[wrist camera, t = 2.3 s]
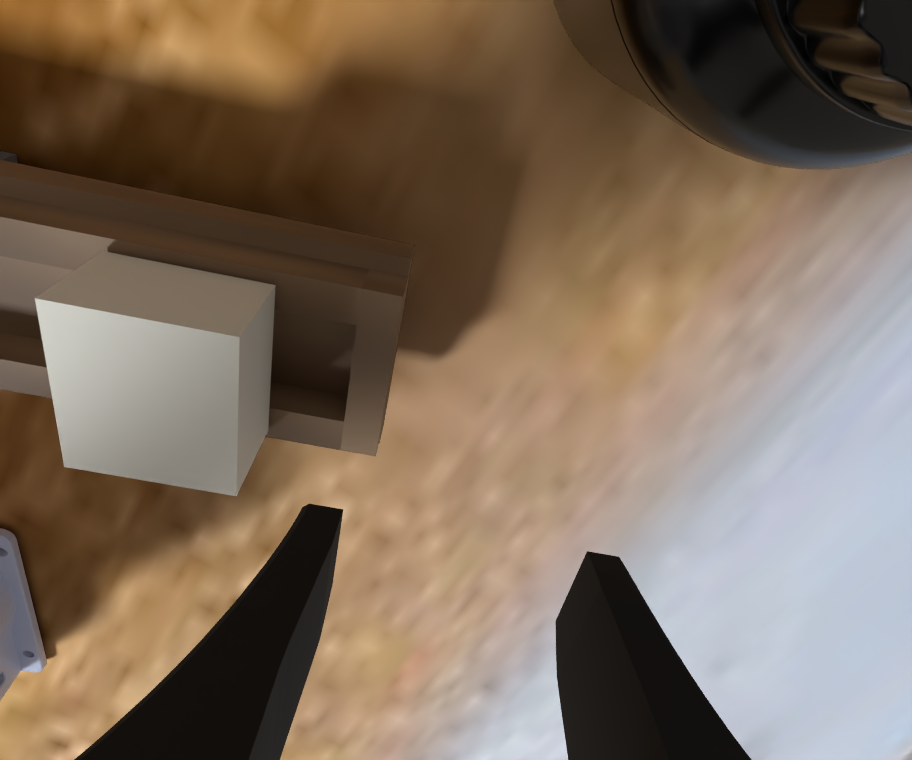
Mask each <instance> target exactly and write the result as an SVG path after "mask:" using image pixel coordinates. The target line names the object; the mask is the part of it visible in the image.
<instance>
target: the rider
mask: <svg viewBox="0 0 912 760" xmlns="http://www.w3.org/2000/svg"><path fill="white" fill-rule="evenodd" d="M275 287H276V285H272V284H267V283H262V282H257V281H252V280H247V279H242V278H237V277H232V276H227V275H222V274H217V273H211V272H206V271H201V270H196V269H191V268H186V267H181V266H176V265H171V264H166V263H161V262H156V261H151V260H146V259H141V258H135V257H130V256H125V255H120V254H115V253H110V252H105V251H102V252H100V253H99V254H98V255H96V256H95V257H93V258H92V259H90V260H89V261H88V262H86V263H85V264H83V265H82V266H80V267H79V268H78V269H76V270H75V271H73V272H72V273H70V274H69V275H67V276H66V277H65V278H63V279H62V280H60V281H59V282H57V283H56V284H55V285H53V286H52V287H50V288H49V289H47V290H46V291H44V292H43V293H42V294H40V295H39V296H37V297H36V298H35V302H36V308H37V314H38V320H39V325H40V331H41V337H42V343H43V348H44V354H45V360H46V365H47V371H48V377H49V383H50V388H51V394H52V400H53V405H54V411H55V417H56V423H57V428H58V434H59V440H60V446H61V451H62V457H63V463H64V467H67V468H73V469H79V470H85V471H91V472H97V473H103V474H108V475H114V476H120V477H126V478H132V479H138V480H144V481H149V482H155V483H161V484H167V485H173V486H179V487H184V488H190V489H196V490H202V491H208V492H214V493H220V494H225V495H231V496H237V495H238V492H239V490H240V488H241V486H242V484H243V482H244V480H245V478H246V476H247V474H248V472H249V470H250V468H251V465H252V463H253V461H254V459H255V457H256V455H257V453H258V451H259V449H260V447H261V445H262V443H263V441H264V438H265V436H266V434H267V432H268V424H269V404H270V385H271V365H272V345H273V326H274V306H275Z"/></svg>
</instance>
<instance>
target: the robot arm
mask: <svg viewBox="0 0 912 760" xmlns="http://www.w3.org/2000/svg"><path fill="white" fill-rule="evenodd" d="M342 514H343V509H337V508H331V507H325V506H319V505H314V504H308V505H306V506H304V507H302V509H301V511H300V513H299V515H298V517H297V518H296V520H295V522H294V523H293V525H292V526H291V528H290V530H289V531H288V533H287V534H286V536H285V537H284V539H283V540H282V542H281V543H280V545H279V546H278V547H277V549H276V550H275V552H274V553H273V554H272V556H271V557H270V558H269V560H268V561H267V563H266V564H265V565H264V566H263V568H262V569H261V570H260V572H259V573H258V574H257V575H256V577H255V578H254V579H253V580H252V582H251V583H250V584H249V585H248V587H247V588H246V589H245V591H244V592H243V593H242V594H241V596H240V597H239V598H238V599H237V600H236V602H235V603H234V604H233V605H232V606H231V607H230V609H229V610H228V611H227V612H226V613H225V614H224V615H223V616H222V618H221V619H220V620H219V621H218V622H217V623H216V624H215V625H214V627H213V628H212V629H211V630H210V631H209V632H208V633H207V635H206V636H205V637H204V638H203V639H202V640H201V641H200V642H199V643H198V644H197V645H196V647H195V648H194V649H193V650H192V651H191V652H190V653H189V654H188V655H187V656H186V657H185V658H184V659H183V660H182V661H181V662H180V663H179V664H178V665H177V666H176V667H175V668H174V669H173V670H172V671H171V672H170V673H169V674H168V675H167V676H166V677H165V678H164V679H163V680H162V681H161V682H160V683H159V684H158V685H157V686H156V687H155V688H154V689H153V690H152V691H151V692H150V693H149V694H148V695H147V696H146V697H145V698H143V699H142V700H141V701H140V702H139V703H138V704H137V705H136V706H135V707H134V708H133V709H131V710H130V711H129V712H128V713H127V714H126V715H125V716H124V717H123V718H122V719H121V720H119V721H118V722H117V723H116V724H115V725H114V726H113V727H112V728H111V729H110V730H108V731H107V732H106V733H105V734H104V735H103V736H102V737H100V738H99V739H98V740H97V741H96V742H95V743H94V744H92V745H91V746H90V747H89V748H88V749H87V750H85V751H84V752H83V753H82V754H81V755H80V756H78V757H77V758H76V759H75V760H280V757H281V754H282V751H283V748H284V745H285V742H286V739H287V736H288V733H289V730H290V727H291V724H292V721H293V718H294V715H295V712H296V709H297V706H298V703H299V700H300V697H301V694H302V691H303V688H304V685H305V682H306V679H307V676H308V673H309V670H310V667H311V664H312V661H313V658H314V655H315V652H316V649H317V646H318V643H319V640H320V636H321V632H322V627H323V623H324V619H325V615H326V610H327V606H328V601H329V597H330V593H331V588H332V584H333V577H334V570H335V563H336V556H337V549H338V542H339V535H340V528H341V521H342ZM556 660H557V680H558V688H559V696H560V703H561V710H562V718H563V725H564V732H565V739H566V746H567V753H568V760H751V758H750V757H749V756H748V755H747V753H746V752H745V751H744V750H743V748H742V747H741V746H740V744H739V743H738V742H737V740H736V739H735V738H734V736H733V735H732V734H731V732H730V731H729V730H728V728H727V727H726V725H725V724H724V723H723V721H722V720H721V718H720V717H719V715H718V714H717V713H716V711H715V710H714V708H713V707H712V705H711V704H710V703H709V701H708V700H707V698H706V697H705V695H704V694H703V692H702V691H701V689H700V688H699V686H698V685H697V683H696V682H695V680H694V679H693V677H692V676H691V674H690V673H689V671H688V670H687V668H686V666H685V665H684V663H683V662H682V660H681V659H680V657H679V656H678V654H677V652H676V651H675V649H674V648H673V646H672V645H671V643H670V641H669V640H668V638H667V636H666V635H665V633H664V632H663V630H662V628H661V627H660V625H659V623H658V622H657V620H656V618H655V617H654V615H653V613H652V612H651V610H650V608H649V607H648V605H647V603H646V602H645V600H644V598H643V596H642V595H641V593H640V591H639V590H638V588H637V586H636V584H635V583H634V581H633V579H632V578H631V576H630V574H629V572H628V571H627V569H626V567H625V566H624V564H623V562H622V561H621V559H620V558H619V557H616V556H611V555H605V554H599V553H593V552H587V553H586V555H585V558H584V560H583V562H582V564H581V566H580V569H579V571H578V573H577V575H576V577H575V580H574V582H573V584H572V586H571V589H570V591H569V593H568V595H567V597H566V600H565V602H564V604H563V606H562V608H561V611H560V613H559V615H558V617H557V619H556ZM46 664H47V660H46V656H45V652H44V648H43V643H42V639H41V635H40V631H39V627H38V623H37V619H36V615H35V611H34V607H33V603H32V599H31V595H30V591H29V587H28V583H27V579H26V575H25V571H24V567H23V563H22V559H21V555H20V551H19V547H18V543H17V539H16V537H15V535H14V534H13V533H12V532H10V531H8V530H6V529H2V528H0V700H1V699H2V697H3V696H4V694H5V693H6V692H7V690H8V689H9V687H10V686H11V684H12V683H13V681H14V680H15V678H16V677H17V675H18V674H19V672H20V671H21V670H22V671H29V672H40V671H42V670H43V669H44V667H45V666H46Z"/></svg>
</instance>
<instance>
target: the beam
mask: <svg viewBox="0 0 912 760" xmlns="http://www.w3.org/2000/svg"><path fill="white" fill-rule="evenodd" d="M414 247H415V245H412V244H407V243H402V242H397V241H392V240H388V239H383V238H378V237H373V236H368V235H363V234H358V233H354V232H349V231H344V230H339V229H334V228H329V227H324V226H320V225H315V224H310V223H305V222H300V221H295V220H290V219H286V218H281V217H276V216H271V215H266V214H261V213H256V212H252V211H247V210H242V209H237V208H232V207H227V206H222V205H218V204H213V203H208V202H203V201H198V200H193V199H188V198H184V197H179V196H174V195H169V194H164V193H159V192H154V191H150V190H145V189H140V188H135V187H130V186H125V185H120V184H116V183H111V182H106V181H101V180H96V179H91V178H86V177H82V176H77V175H72V174H67V173H62V172H57V171H52V170H47V169H43V168H38V167H33V166H28V165H23V164H18V160H17V154H13V153H8V152H3V151H0V389H2V390H7V391H13V392H18V393H24V394H30V395H35V396H41V397H46V398H52V394H51V388H50V383H49V377H48V371H47V365H46V360H45V354H44V348H43V343H42V337H41V331H40V325H39V320H38V314H37V308H36V302H35V298H36V297H37V296H39V295H40V294H42V293H43V292H44V291H46V290H47V289H49V288H50V287H52V286H53V285H55V284H56V283H57V282H59V281H60V280H62V279H63V278H65V277H66V276H67V275H69V274H70V273H72V272H73V271H75V270H76V269H78V268H79V267H80V266H82V265H83V264H85V263H86V262H88V261H89V260H90V259H92V258H93V257H95V256H96V255H98V254H99V253H100V252H102V251H105V252H110V253H115V254H120V255H125V256H130V257H135V258H141V259H146V260H151V261H156V262H161V263H166V264H171V265H176V266H181V267H186V268H191V269H196V270H201V271H206V272H211V273H217V274H222V275H227V276H232V277H237V278H242V279H247V280H252V281H257V282H262V283H267V284H272V285H276V287H275V306H274V326H273V345H272V365H271V385H270V404H269V424H268V432H267V434H266V436H265V437H270V438H276V439H281V440H287V441H292V442H298V443H304V444H309V445H315V446H320V447H326V448H332V449H337V450H343V451H348V452H354V453H360V454H365V455H371V456H376V453H377V449H378V444H379V443H380V438H381V434H382V430H383V425H384V420H385V414H386V408H387V402H388V397H389V391H390V385H391V379H392V374H393V368H394V362H395V356H396V351H397V345H398V339H399V333H400V328H401V322H402V316H403V310H404V305H405V299H406V293H407V287H408V282H409V276H410V270H411V264H412V259H413V253H414Z"/></svg>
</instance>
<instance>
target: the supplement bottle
mask: <svg viewBox="0 0 912 760" xmlns="http://www.w3.org/2000/svg"><path fill="white" fill-rule="evenodd" d="M554 4H555V7H556V10H557V12H558V15H559V18H560V20H561V22H562V24H563V26H564V28H565V30H566V32H567V34H568V36H569V38H570V39H571V41H572V42H573V44H574V45H575V47H576V48H577V50H578V51H579V52H580V53H581V55H582V56H583V57H584V58H585V59H586V60H587V61H588V62H589V63H590V64H591V65H592V66H593V67H594V68H595V69H596V70H597V71H598V72H600V73H601V74H602V75H603V76H605V77H606V78H607V79H609V80H610V81H611V82H613V83H614V84H616V85H618V86H619V87H621V88H622V89H624V90H625V91H627V92H629V93H630V94H632V95H633V96H635V97H637V98H638V99H640V100H641V101H643V102H645V103H646V104H648V105H649V106H651V107H653V108H654V109H656V110H657V111H659V112H661V113H662V114H664V115H665V116H667V117H669V118H670V119H672V120H673V121H675V122H677V123H678V124H680V125H681V126H683V127H685V128H686V129H688V130H689V131H691V132H693V133H694V134H696V135H697V136H699V137H701V138H702V139H704V140H706V141H707V142H709V143H711V144H714V145H716V146H718V147H720V148H722V149H724V150H726V151H729V152H731V153H733V154H736V155H739V156H742V157H744V158H747V159H750V160H753V161H756V162H760V163H764V164H769V165H773V166H778V167H785V168H795V169H836V168H847V167H855V166H860V165H866V164H871V163H876V162H880V161H883V160H887V159H891V158H894V157H898V156H902V155H905V154H908V153H911V152H912V0H554Z"/></svg>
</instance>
